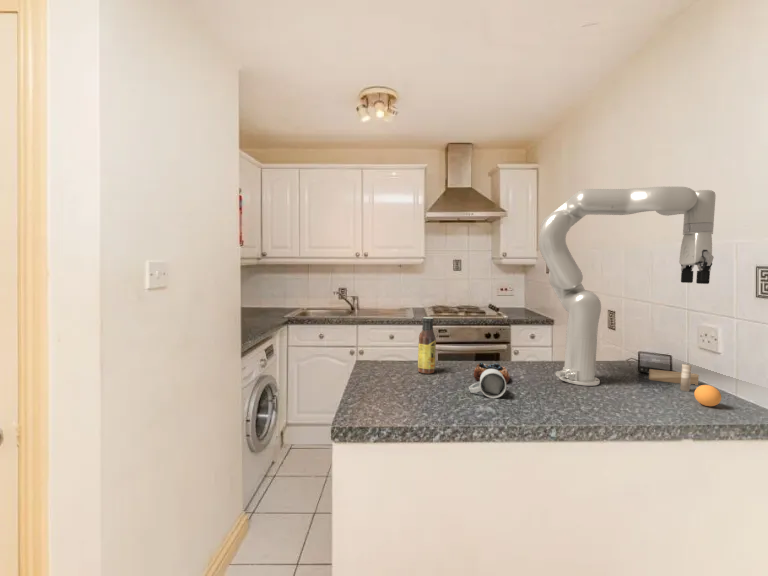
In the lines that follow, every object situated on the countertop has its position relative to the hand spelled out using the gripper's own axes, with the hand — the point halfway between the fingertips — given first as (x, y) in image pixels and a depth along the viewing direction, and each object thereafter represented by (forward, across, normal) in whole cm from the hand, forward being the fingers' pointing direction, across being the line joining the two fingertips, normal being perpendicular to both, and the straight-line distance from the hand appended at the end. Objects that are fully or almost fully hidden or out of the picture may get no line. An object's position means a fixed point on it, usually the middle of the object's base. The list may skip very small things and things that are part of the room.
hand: (694, 283), depth 123 cm
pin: (+35, 0, -1) cm, 35 cm away
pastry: (+35, +10, -62) cm, 72 cm away
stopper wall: (+35, -10, 0) cm, 37 cm away
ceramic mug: (+35, +27, -64) cm, 78 cm away
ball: (+32, +15, -2) cm, 36 cm away
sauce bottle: (+35, +10, -85) cm, 93 cm away
